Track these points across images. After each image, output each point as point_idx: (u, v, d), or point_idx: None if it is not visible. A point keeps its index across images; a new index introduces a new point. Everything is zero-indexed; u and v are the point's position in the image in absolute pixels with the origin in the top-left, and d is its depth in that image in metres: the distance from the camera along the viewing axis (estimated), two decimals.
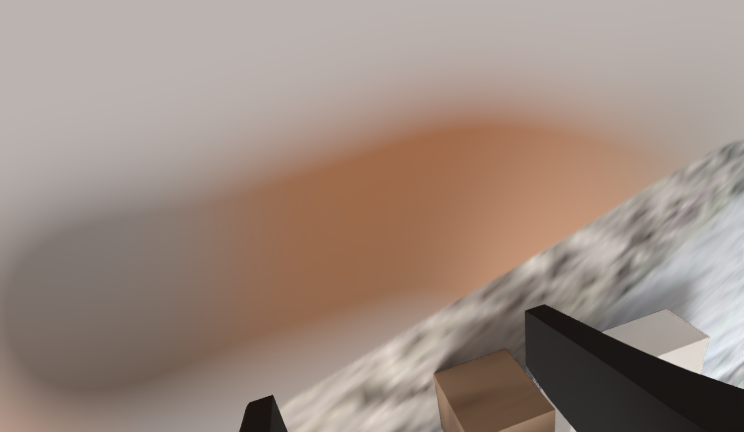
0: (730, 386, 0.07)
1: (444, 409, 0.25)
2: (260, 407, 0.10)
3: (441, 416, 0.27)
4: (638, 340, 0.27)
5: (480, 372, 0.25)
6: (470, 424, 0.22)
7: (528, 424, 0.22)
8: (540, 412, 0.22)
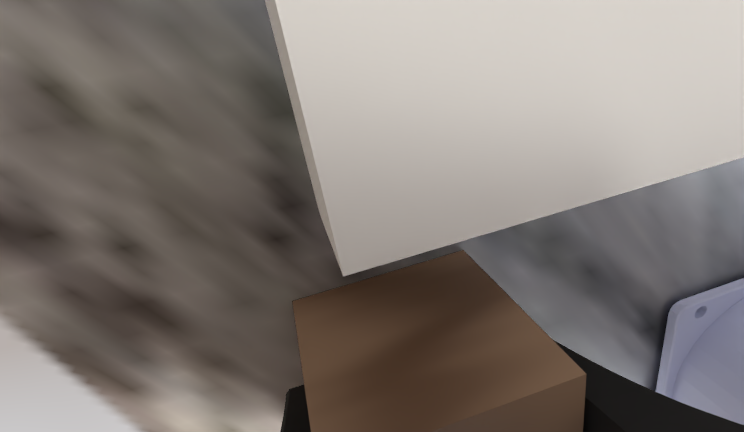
0: (683, 405, 0.07)
1: None
2: (301, 393, 0.10)
3: None
4: None
5: None
6: None
7: None
8: None
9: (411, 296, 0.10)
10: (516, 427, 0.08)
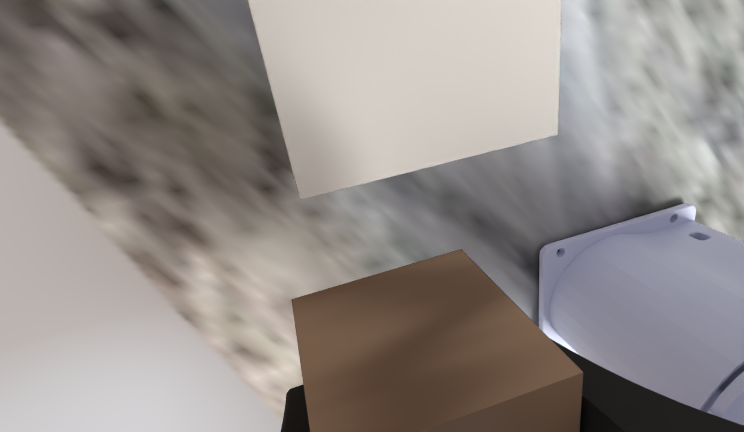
0: (683, 405, 0.07)
1: None
2: (302, 393, 0.10)
3: None
4: None
5: None
6: None
7: None
8: None
9: (410, 295, 0.10)
10: (513, 425, 0.08)
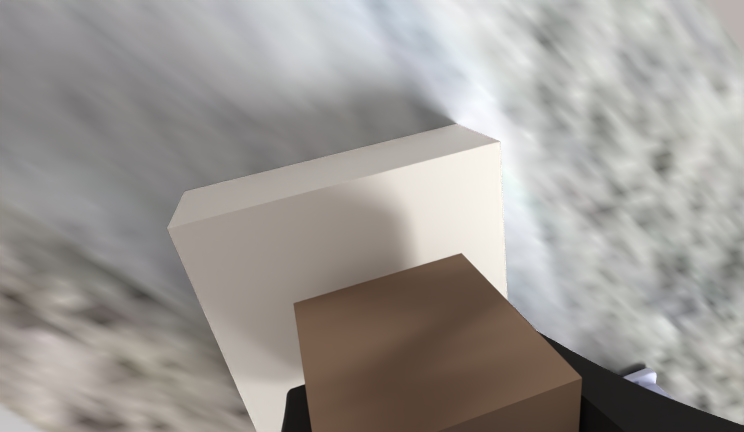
0: (683, 405, 0.07)
1: None
2: (302, 393, 0.10)
3: None
4: None
5: None
6: None
7: None
8: None
9: (410, 299, 0.11)
10: (513, 430, 0.08)
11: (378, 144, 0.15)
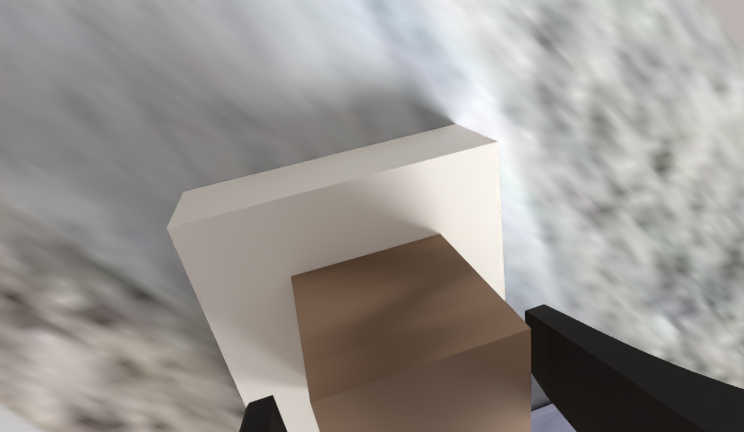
0: (730, 386, 0.07)
1: None
2: (260, 407, 0.10)
3: None
4: None
5: None
6: None
7: None
8: None
9: (393, 272, 0.12)
10: (474, 372, 0.09)
11: (377, 144, 0.15)
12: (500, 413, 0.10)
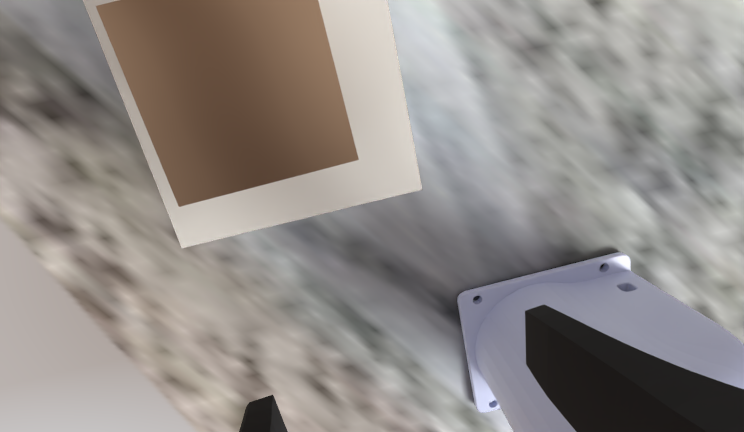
0: (730, 386, 0.07)
1: None
2: (260, 407, 0.10)
3: None
4: None
5: None
6: None
7: (139, 73, 0.10)
8: (113, 43, 0.10)
9: None
10: (256, 1, 0.10)
11: None
12: (300, 66, 0.10)
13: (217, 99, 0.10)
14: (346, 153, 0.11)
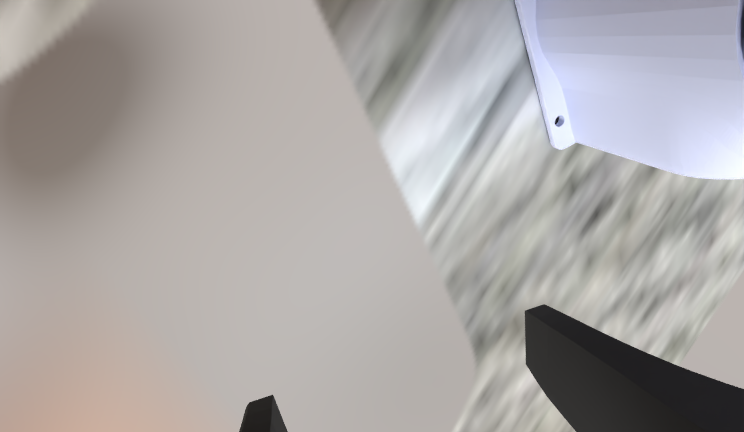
0: (730, 386, 0.07)
1: None
2: (260, 407, 0.10)
3: None
4: None
5: None
6: None
7: None
8: None
9: None
10: None
11: None
12: None
13: None
14: None
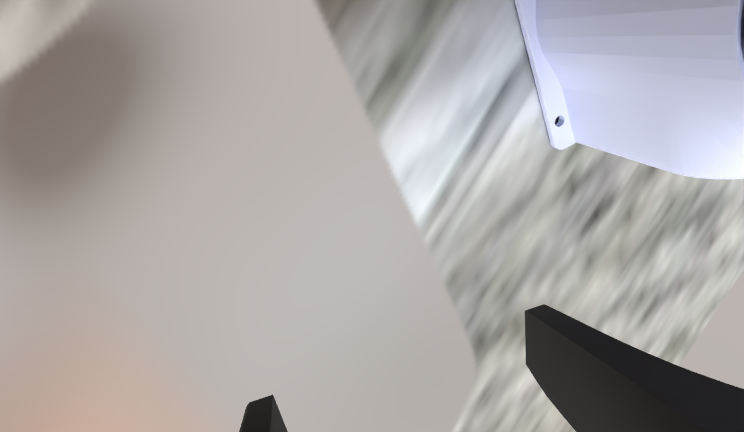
0: (730, 386, 0.07)
1: None
2: (260, 407, 0.10)
3: None
4: None
5: None
6: None
7: None
8: None
9: None
10: None
11: None
12: None
13: None
14: None
